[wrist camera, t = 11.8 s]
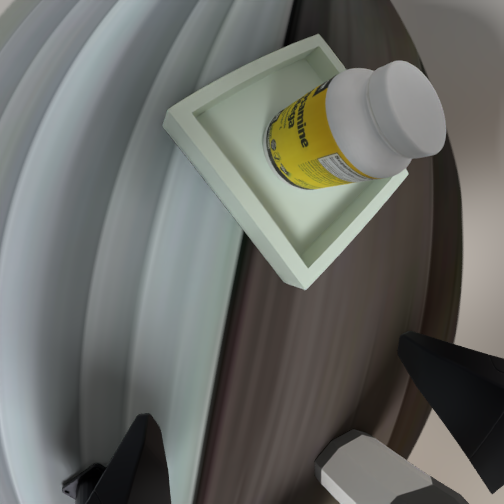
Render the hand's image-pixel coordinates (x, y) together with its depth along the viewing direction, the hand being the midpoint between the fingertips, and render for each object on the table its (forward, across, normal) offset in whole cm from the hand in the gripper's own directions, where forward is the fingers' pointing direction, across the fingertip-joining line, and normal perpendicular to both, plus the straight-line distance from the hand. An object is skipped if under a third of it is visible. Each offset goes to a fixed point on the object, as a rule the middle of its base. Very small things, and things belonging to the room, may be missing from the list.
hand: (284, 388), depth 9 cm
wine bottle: (+8, -7, +26) cm, 28 cm away
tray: (+15, -7, -6) cm, 17 cm away
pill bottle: (+14, -7, -6) cm, 17 cm away
